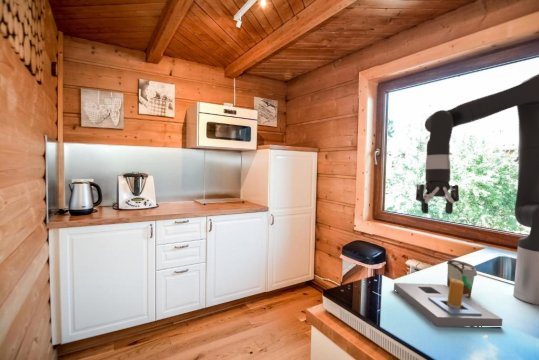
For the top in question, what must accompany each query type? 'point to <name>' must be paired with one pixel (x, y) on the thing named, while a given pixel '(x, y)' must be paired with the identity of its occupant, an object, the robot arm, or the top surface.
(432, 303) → the board
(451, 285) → the supplement box
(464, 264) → the food container
